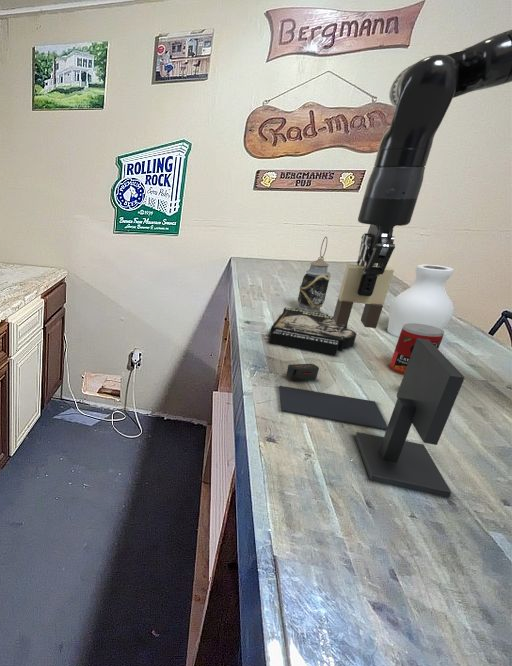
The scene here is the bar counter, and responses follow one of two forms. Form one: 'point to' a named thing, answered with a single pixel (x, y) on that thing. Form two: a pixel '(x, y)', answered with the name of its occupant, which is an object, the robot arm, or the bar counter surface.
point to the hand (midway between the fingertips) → (362, 292)
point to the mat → (331, 407)
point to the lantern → (314, 285)
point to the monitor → (415, 424)
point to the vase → (423, 300)
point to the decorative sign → (310, 332)
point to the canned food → (412, 343)
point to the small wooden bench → (351, 296)
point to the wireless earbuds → (302, 372)
